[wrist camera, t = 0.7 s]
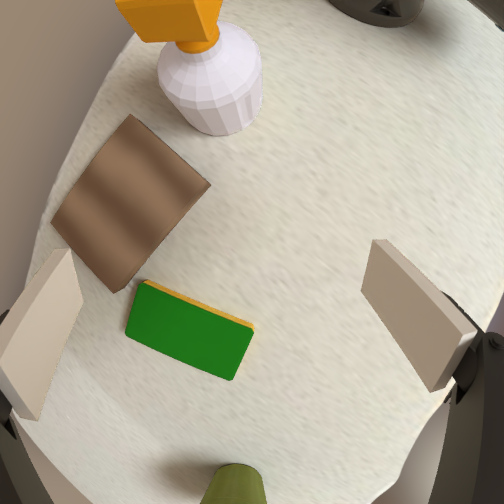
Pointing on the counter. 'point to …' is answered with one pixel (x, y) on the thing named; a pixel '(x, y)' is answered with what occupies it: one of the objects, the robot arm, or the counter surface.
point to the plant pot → (235, 486)
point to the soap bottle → (201, 61)
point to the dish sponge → (188, 330)
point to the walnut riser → (127, 203)
